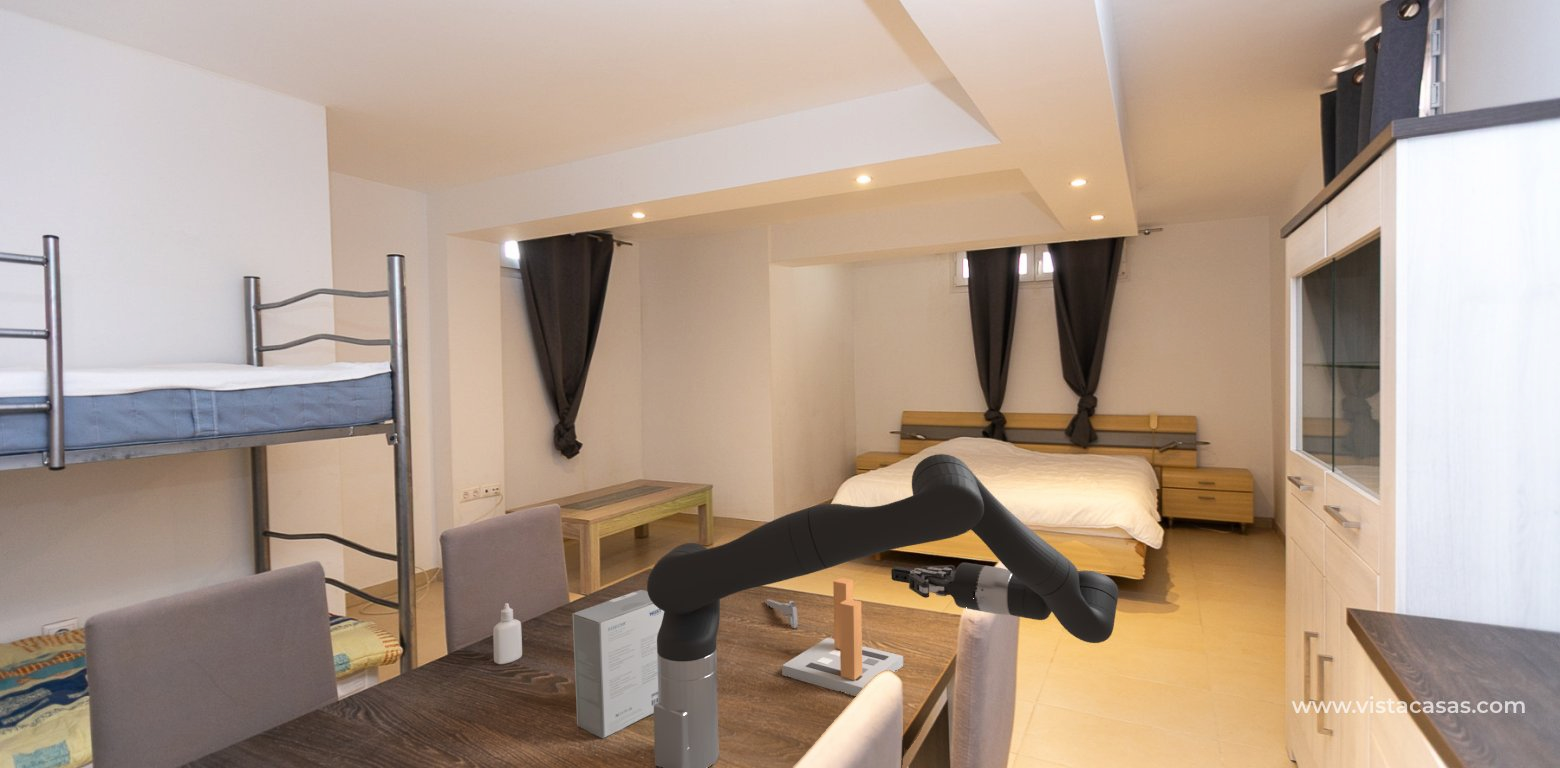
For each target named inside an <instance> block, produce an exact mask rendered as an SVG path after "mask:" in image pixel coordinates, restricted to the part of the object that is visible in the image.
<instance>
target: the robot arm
mask: <svg viewBox="0 0 1560 768" xmlns="http://www.w3.org/2000/svg"><path fill="white" fill-rule="evenodd" d="M911 490H912V495H910V496H908V497H905V498H902V499H899V500H895V501H893V502H890V503H887V504H882V505H877V506H859V505H851V504H849V505H848V504H841V503H822V504H817V505H814V506H810V507H807V508H804V509H800V510H796V511H793V512H791V513H788V514H786V515H783V516H781V517H778V518H776V519H773V520H771V521H769V522H767V523H764V524H763V525H760V526H759V527H756V528H755V529H752V530H751V531H749V532H747V533H745V534H743V535H741V536H740V537H738V538H735V539H733V540H731V541H729V542H726V543H724V544H721V545H718V546H715V547H710V548H707V547H706V546H704V545H702V544H700V543H695V542H687V543H682V544H680V545H678V546H676V547H674V548H673V549H672V550H671V551H669V552H668V553H667V554H665V555H664V556H662V557H661V558H660V559H659V560H658V561H657V562H656V563H655V564H654V566H653V567H652V569H651V570H650V573H649V575H648V579H647V583H646V591H647V592H648V595H649V598H650V600H651V601H652V602H653V604H654V605H655V606H657V607H658V608H659V609H661V610H663V611H664V615H663V620H662V624H661V627H660V629H659V632H658V635H657V665H658V703H656V704H655V705H654V713H653V728H654V729H653V730H654V731H653V732H654V733H653V734H654V735H653V736H654V739H653V740H654V766H657V767H659V768H661V767H663V768H706V767H709V766H711V765H712V764H713V765H715V764H716V763H717V761H718V760H719V755H720V752H719V749H720V747H719V745H720V744H719V722H718V721H719V714H718V713H719V709H718V673H717V672H718V670H717V669H718V665H717V664H718V663H717V662H718V661H717V658H718V657H717V637H718V631H719V628H720V627H719V626H720V618H721V617H720V614H721V606H720V605H721V599H724V598H726V597H728V596H731V595H734V594H737V593H739V592H742V591H745V590H750V589H754V588H758V587H763V586H767V585H771V584H775V583H779V582H784V581H788V580H790V579H794V578H798V577H803V576H806V575H810V574H812V573H817V572H820V571H824V570H827V569H829V568H830V569H831V568H832V567H836V566H838V565H842V564H844V563H847V562H851V561H854V560H858V559H859V560H860V559H862V558H865V557H866V558H867V557H869V556H872V555H877V554H880V553H883V552H887V551H891V550H896V549H899V548H905V547H910V546H911V547H912V546H916V545H920V544H927V543H932V542H937V541H944V540H947V539H952V538H956V537H958V536H961V535H964V534H966V533H968V532H969V531H972V532H973V533H974V534H975V535H976V536H977V537H979V539H980V540H981V541H982V542H983V543H984V544H985V545H986V547H987V548H988V549H989V550H990V551H991V552H992V554H993V555H994V556H995V557H996V559H998V560H999V561H1000V563H1001V564H1002V565H1003V566H1004V567H1003V568H1002V567H997V566H990V565H982V564H977V563H970V562H961V563H959V564H958V566H957V567H956V569H955V566H954V565H952V564H950V565H949V564H947V565H923V566H921V568H919V567H916V568H915V567H914V569H913V568H908V567H903V566H902V567H901V566H895V567H893V568H891V571H890V573H891V580H892V581H894V582H901V583H906V584H908V589H910V590H911V591H912V592H914V593H915V594H917V595H918V596H921V597H922V598H925V599H928V598H929V597H930V593H932V594H935V595H936V596H939V597H947V596H951V597H952V598H953V600H954V604H955V605H956V606H957V607H959V608H962V609H966V607H967V609H968V610H973V611H978V612H984V613H989V614H993V615H994V614H995V615H1001V616H1003V615H1005V616H1013V617H1018V618H1019V617H1020V618H1025V619H1031V620H1035V621H1045V620H1047V619H1048V618H1050V615H1051V614H1053V616H1054V617H1055V618H1056V619H1057V622H1059V624H1061V626H1062V627H1063V628H1064V629H1065V630H1066V632H1068V633H1069V634H1071V636H1073V637H1075V638H1076V639H1079V640H1080V641H1081V642H1082V641H1083V642H1085V643H1089V644H1090V643H1091V644H1100V643H1103V642H1105V641H1107V640H1108V639H1109V638H1110V637H1111V636H1112V634H1113V631H1114V628H1115V627H1114V626H1115V619H1116V613H1117V606H1118V600H1119V588H1118V585H1117V584H1116V582H1115V581H1114V580H1113V579H1111V577H1109V576H1107V575H1106V574H1103V573H1101V572H1098V571H1093V570H1078V568H1077V567H1076V565H1075V564H1074V563H1073V562H1072V561H1071V560H1070V559H1069V558H1067V557H1066V556H1065V555H1063V554H1062V553H1061V552H1060V551H1059V550H1057V549H1056V548H1054V547H1053V546H1052V545H1051V544H1049V543H1048V542H1047V541H1045V540H1044V539H1043V538H1042V537H1040V536H1039V535H1038V534H1037V533H1036V532H1035V531H1033V530H1032V529H1031V528H1030V527H1028V526H1027V525H1026V524H1025V523H1023V522H1022V521H1021V520H1020V519H1019V518H1018V517H1016V516H1015V514H1013V513H1012V512H1011V511H1010V510H1009V509H1008V508H1007V507H1006V506H1004V505H1003V503H1002V502H1000V501H999V500H998V498H996V497H995V495H994V494H992V493H991V492H990V490H989V489H988V488H987V487H986V486H985V485H984V484H983V482H981V481H980V479H979V478H978V477H977V476H976V475H975V473H974V472H973V471H972V470H971V469H970V468H969V466H968V465H967V464H966V463H965V462H963V461H962V460H961V459H959V458H958V457H956V456H953V455H950V454H943V453H939V454H933V455H930V456H927V457H925V458H924V459H922V460H921V461H919V462H918V464H917V465H916V467H915V468H914V470H913V473H912V476H911ZM973 598H974V599H973ZM967 609H966V610H967ZM713 765H712V766H713ZM712 766H711V767H712ZM709 768H710V767H709Z"/></svg>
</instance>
